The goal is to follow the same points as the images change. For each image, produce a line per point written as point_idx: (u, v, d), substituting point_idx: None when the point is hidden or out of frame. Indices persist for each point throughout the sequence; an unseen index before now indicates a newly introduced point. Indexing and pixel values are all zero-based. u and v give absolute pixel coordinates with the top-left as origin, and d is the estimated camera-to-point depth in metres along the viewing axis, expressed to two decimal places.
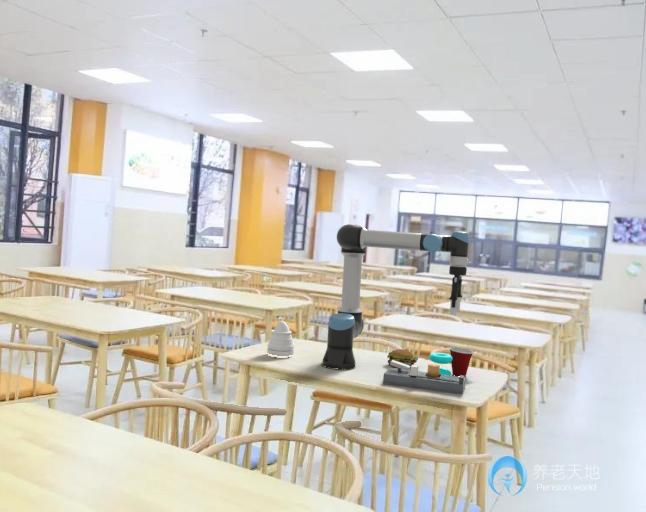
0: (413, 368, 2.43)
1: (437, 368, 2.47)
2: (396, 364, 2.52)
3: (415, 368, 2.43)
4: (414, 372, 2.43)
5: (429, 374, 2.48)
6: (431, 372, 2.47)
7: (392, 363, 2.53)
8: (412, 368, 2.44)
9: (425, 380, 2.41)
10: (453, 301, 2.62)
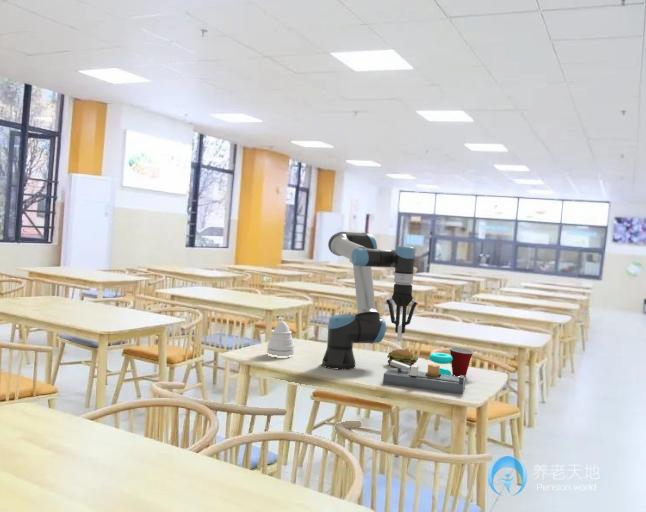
0: (413, 368, 2.43)
1: (437, 368, 2.47)
2: (396, 364, 2.52)
3: (415, 368, 2.43)
4: (414, 372, 2.43)
5: (429, 374, 2.48)
6: (431, 372, 2.47)
7: (392, 363, 2.53)
8: (412, 368, 2.44)
9: (425, 380, 2.41)
10: None
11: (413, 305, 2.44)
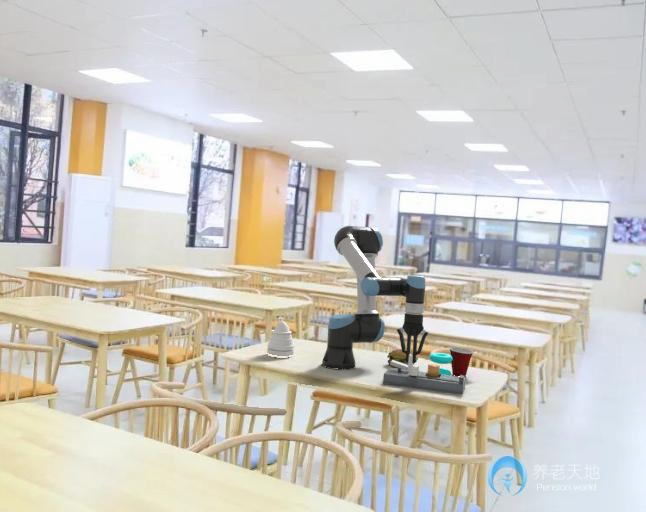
0: (414, 368, 2.43)
1: (437, 368, 2.47)
2: (396, 364, 2.52)
3: (416, 368, 2.43)
4: (415, 372, 2.43)
5: (429, 374, 2.48)
6: (431, 372, 2.47)
7: (392, 363, 2.53)
8: (413, 368, 2.43)
9: (425, 380, 2.41)
10: None
11: (424, 335, 2.42)
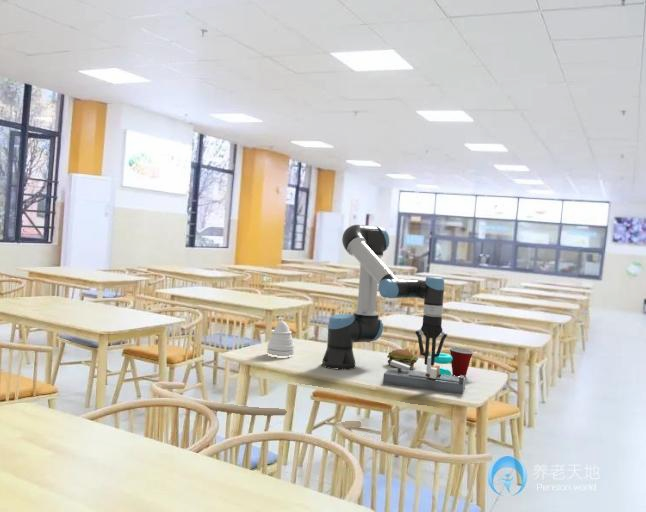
0: (432, 370, 2.41)
1: (437, 368, 2.47)
2: (396, 364, 2.52)
3: (434, 370, 2.41)
4: (433, 375, 2.41)
5: (429, 374, 2.48)
6: None
7: (392, 363, 2.53)
8: (431, 370, 2.41)
9: (425, 380, 2.41)
10: (425, 357, 2.44)
11: (443, 337, 2.40)
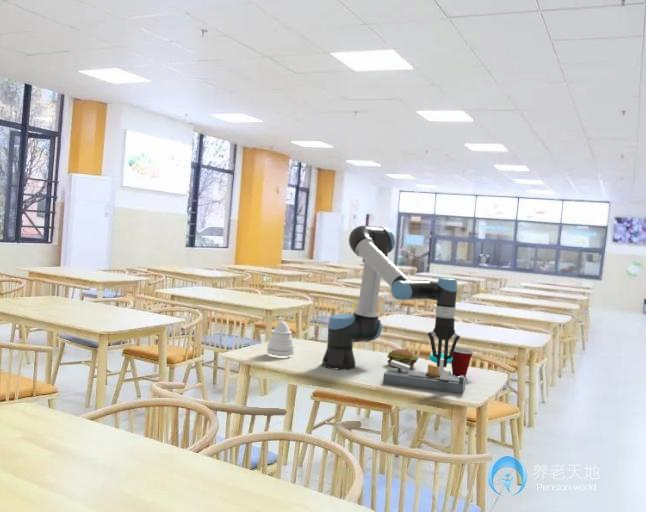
0: (445, 372, 2.40)
1: (437, 368, 2.47)
2: (396, 364, 2.52)
3: (447, 372, 2.39)
4: (446, 376, 2.39)
5: (429, 374, 2.48)
6: (431, 372, 2.47)
7: (392, 363, 2.53)
8: (444, 372, 2.40)
9: (425, 380, 2.41)
10: (437, 359, 2.42)
11: (456, 339, 2.39)
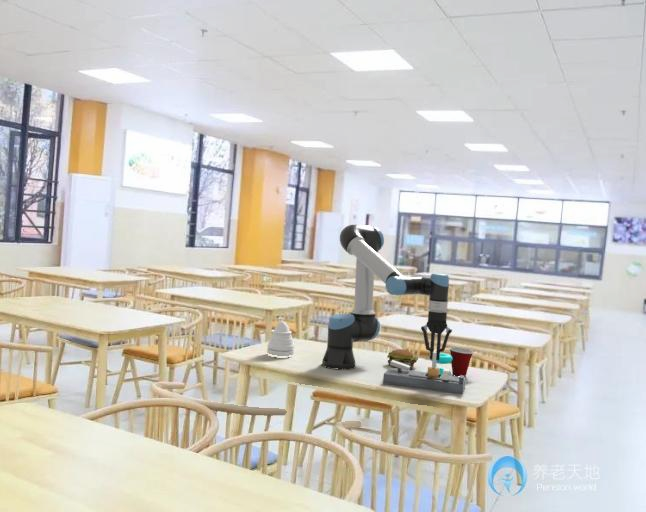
0: (445, 372, 2.39)
1: (437, 371, 2.47)
2: (396, 364, 2.52)
3: (447, 372, 2.39)
4: (446, 376, 2.39)
5: None
6: (430, 375, 2.47)
7: (392, 363, 2.53)
8: (444, 372, 2.40)
9: (425, 380, 2.41)
10: (430, 352, 2.50)
11: (448, 332, 2.46)
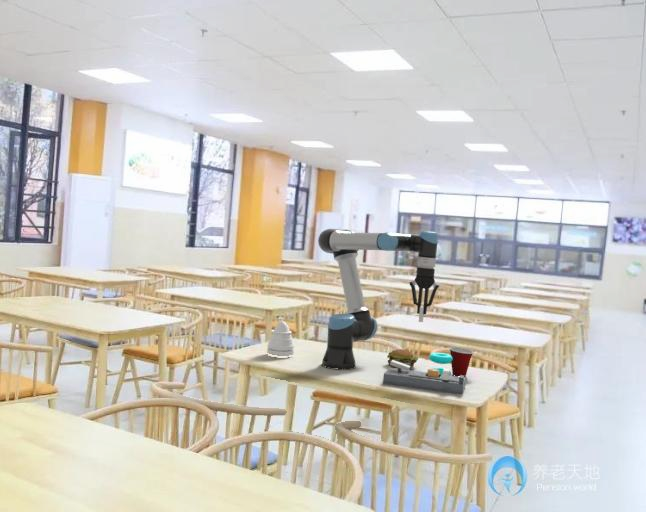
0: (445, 372, 2.39)
1: (437, 373, 2.47)
2: (396, 364, 2.52)
3: (447, 372, 2.39)
4: (446, 376, 2.39)
5: None
6: None
7: (392, 363, 2.53)
8: (444, 372, 2.40)
9: (425, 380, 2.41)
10: None
11: (435, 288, 2.55)
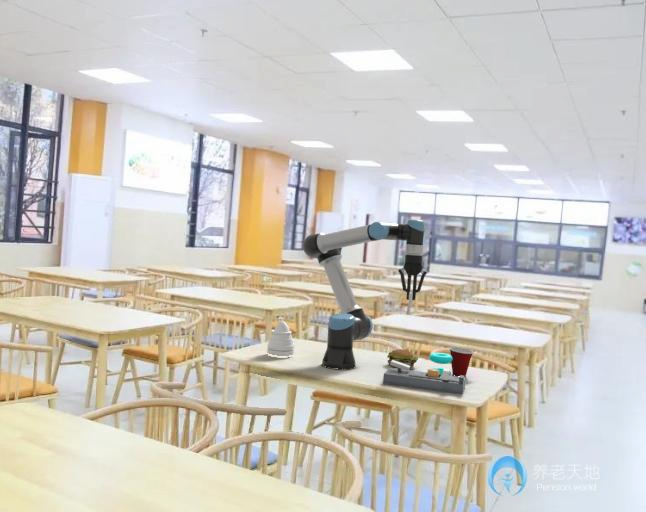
0: (445, 372, 2.39)
1: (437, 373, 2.47)
2: (396, 364, 2.52)
3: (447, 372, 2.39)
4: (446, 376, 2.39)
5: None
6: None
7: (392, 363, 2.53)
8: (444, 372, 2.40)
9: (425, 380, 2.41)
10: None
11: (423, 274, 2.65)
